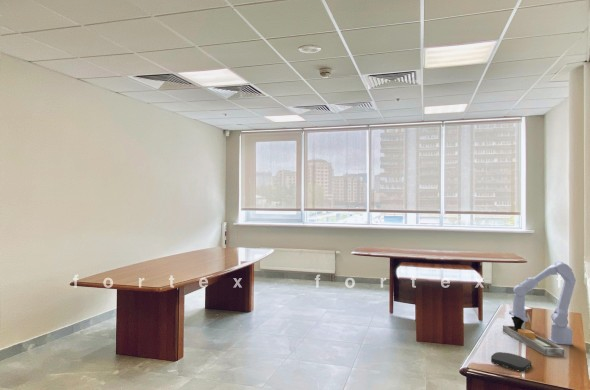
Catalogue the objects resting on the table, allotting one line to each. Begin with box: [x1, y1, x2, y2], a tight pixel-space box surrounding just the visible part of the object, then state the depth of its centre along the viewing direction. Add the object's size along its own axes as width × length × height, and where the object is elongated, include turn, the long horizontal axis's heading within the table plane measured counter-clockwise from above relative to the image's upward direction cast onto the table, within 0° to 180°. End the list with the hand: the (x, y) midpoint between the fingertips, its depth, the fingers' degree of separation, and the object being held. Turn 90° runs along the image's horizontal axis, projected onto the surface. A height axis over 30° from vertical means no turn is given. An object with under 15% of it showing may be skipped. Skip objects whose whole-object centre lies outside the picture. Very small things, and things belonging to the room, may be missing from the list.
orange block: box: [518, 329, 536, 339], centre depth 218 cm, size 6×6×3 cm
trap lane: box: [502, 324, 565, 357], centre depth 214 cm, size 10×36×4 cm, turn 3°
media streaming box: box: [490, 351, 532, 372], centre depth 183 cm, size 15×15×3 cm
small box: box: [522, 306, 533, 331], centre depth 240 cm, size 8×6×13 cm
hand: (517, 330), depth 226 cm, fingers closed
